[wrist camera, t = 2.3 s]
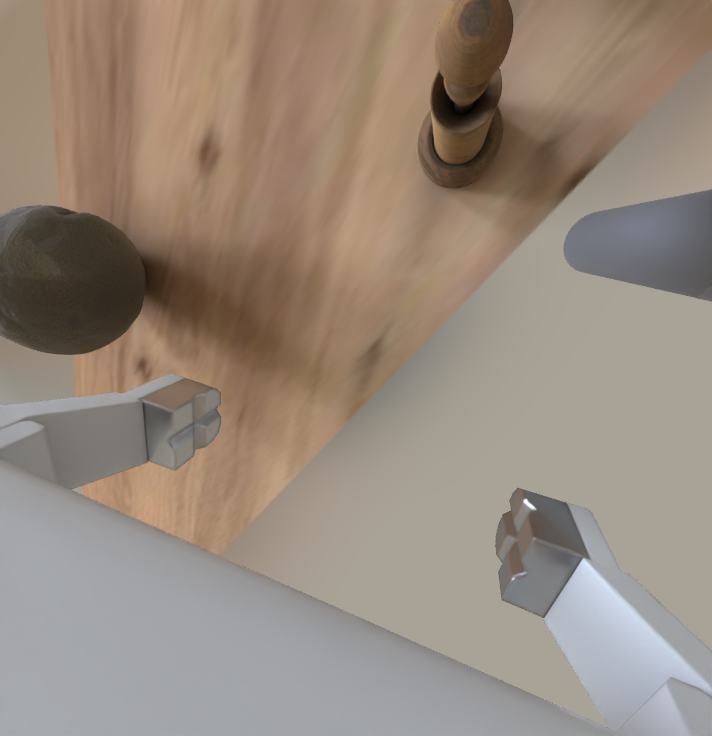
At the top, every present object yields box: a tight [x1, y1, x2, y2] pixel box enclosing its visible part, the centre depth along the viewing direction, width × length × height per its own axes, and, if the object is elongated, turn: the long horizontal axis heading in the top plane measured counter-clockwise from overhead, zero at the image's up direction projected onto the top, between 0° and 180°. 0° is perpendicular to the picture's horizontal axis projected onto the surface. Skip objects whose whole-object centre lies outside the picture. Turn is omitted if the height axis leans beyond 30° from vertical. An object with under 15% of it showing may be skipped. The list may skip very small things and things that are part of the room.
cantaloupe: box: [0, 206, 146, 355], centre depth 35 cm, size 14×14×15 cm
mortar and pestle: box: [418, 0, 513, 188], centre depth 21 cm, size 7×6×18 cm
